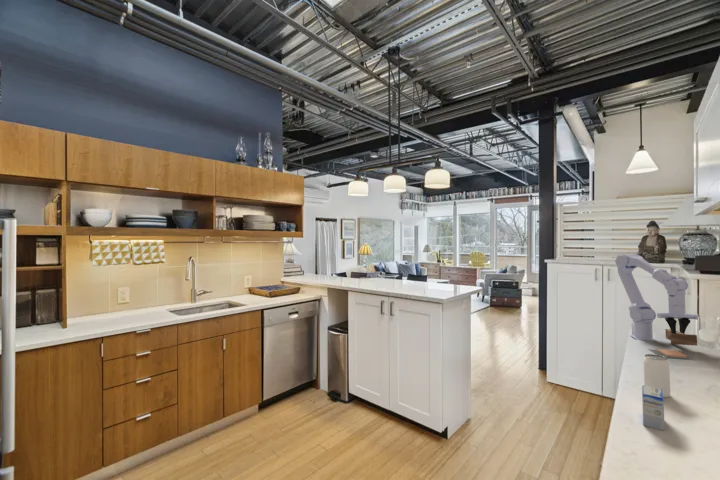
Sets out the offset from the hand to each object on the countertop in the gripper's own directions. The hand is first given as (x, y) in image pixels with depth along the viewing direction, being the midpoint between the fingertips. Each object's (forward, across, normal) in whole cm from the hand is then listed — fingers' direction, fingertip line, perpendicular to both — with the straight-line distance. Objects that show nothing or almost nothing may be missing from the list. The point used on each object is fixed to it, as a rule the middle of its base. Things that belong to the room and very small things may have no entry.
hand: (677, 334), depth 159 cm
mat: (+6, -9, -14) cm, 18 cm away
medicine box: (+7, -43, -83) cm, 93 cm away
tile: (+5, -9, -11) cm, 15 cm away
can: (+7, -33, -61) cm, 70 cm away
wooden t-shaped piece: (+4, 0, +2) cm, 4 cm away
